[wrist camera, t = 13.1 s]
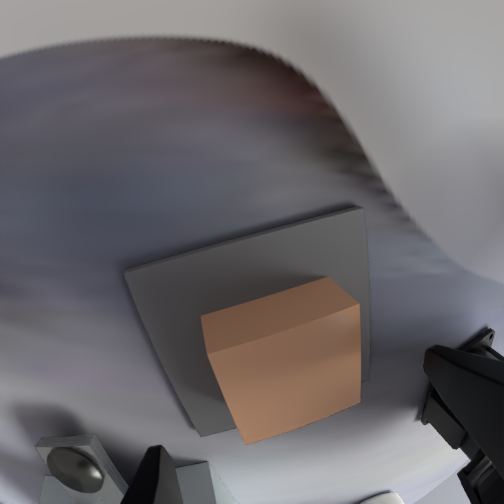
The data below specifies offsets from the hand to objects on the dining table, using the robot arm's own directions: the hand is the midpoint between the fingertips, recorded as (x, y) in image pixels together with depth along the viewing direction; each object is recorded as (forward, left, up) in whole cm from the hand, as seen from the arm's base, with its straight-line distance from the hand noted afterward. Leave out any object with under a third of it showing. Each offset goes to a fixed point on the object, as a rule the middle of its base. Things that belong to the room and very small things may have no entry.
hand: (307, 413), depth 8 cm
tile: (0, 0, -4) cm, 4 cm away
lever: (+11, +13, -1) cm, 17 cm away
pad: (0, 0, -4) cm, 4 cm away
